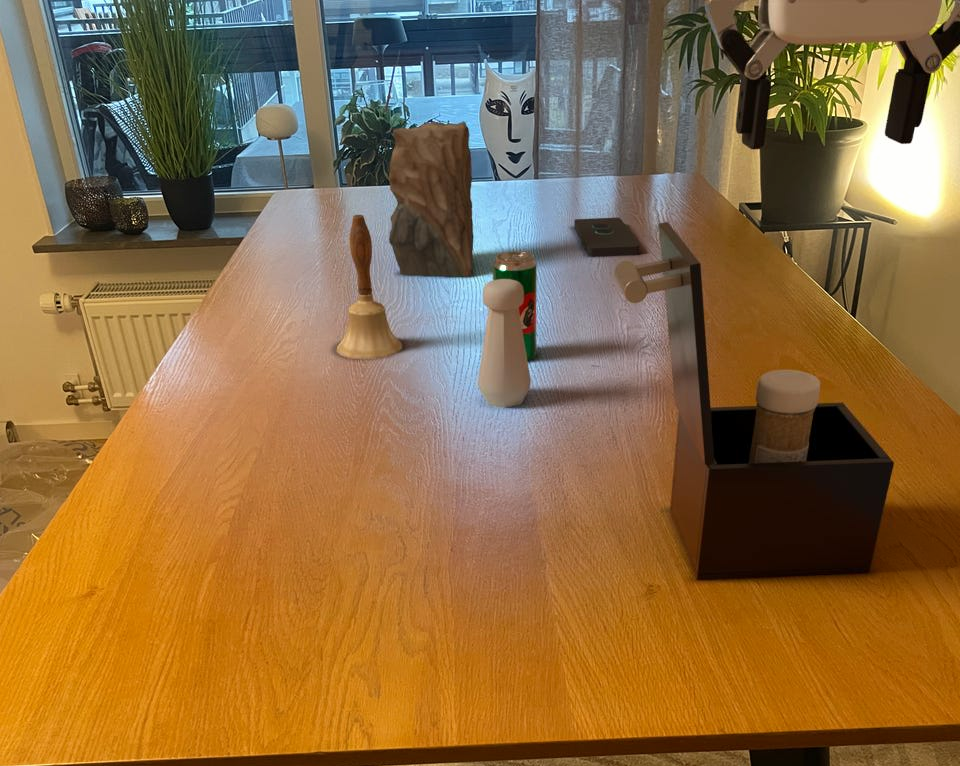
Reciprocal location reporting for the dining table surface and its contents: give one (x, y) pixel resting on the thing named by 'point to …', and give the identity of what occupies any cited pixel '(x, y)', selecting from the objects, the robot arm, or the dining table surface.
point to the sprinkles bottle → (783, 416)
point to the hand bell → (366, 306)
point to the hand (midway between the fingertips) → (824, 143)
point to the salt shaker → (503, 346)
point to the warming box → (780, 499)
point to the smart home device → (606, 237)
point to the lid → (679, 329)
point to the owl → (432, 200)
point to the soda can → (524, 272)
